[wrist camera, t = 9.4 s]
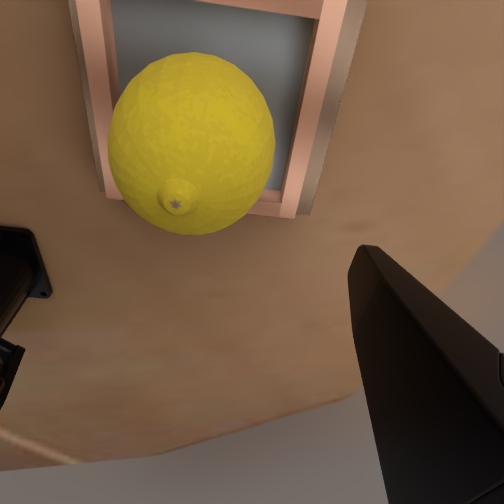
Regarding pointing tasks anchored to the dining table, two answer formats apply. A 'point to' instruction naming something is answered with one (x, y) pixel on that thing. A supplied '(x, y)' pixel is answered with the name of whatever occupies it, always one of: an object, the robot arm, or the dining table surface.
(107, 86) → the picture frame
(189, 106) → the lemon
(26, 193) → the dining table surface
